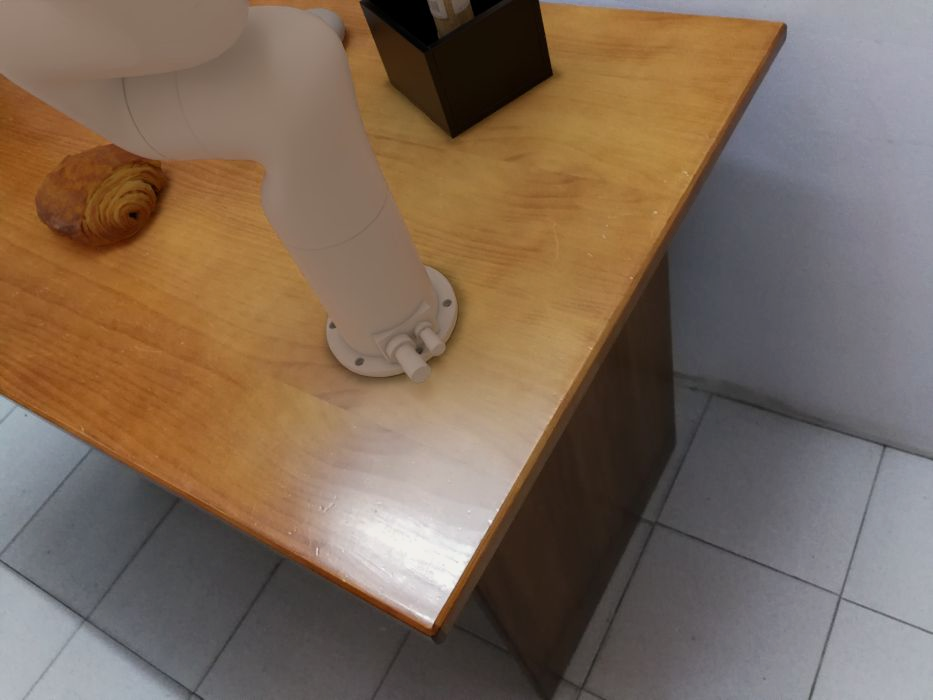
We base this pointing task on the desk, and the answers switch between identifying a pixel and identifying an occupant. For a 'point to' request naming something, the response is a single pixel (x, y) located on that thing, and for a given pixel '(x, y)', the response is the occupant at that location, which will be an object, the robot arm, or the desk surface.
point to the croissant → (100, 195)
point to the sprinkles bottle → (450, 14)
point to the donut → (330, 20)
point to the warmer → (461, 57)
